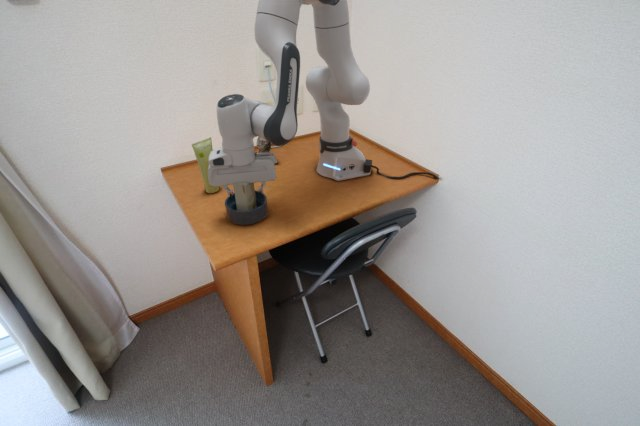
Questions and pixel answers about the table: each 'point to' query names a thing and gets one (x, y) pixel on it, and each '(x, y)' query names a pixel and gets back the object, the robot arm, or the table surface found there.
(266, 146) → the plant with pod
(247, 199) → the cosmetic box
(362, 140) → the table surface
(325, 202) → the table surface
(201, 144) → the tube
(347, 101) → the robot arm
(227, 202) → the bowl
